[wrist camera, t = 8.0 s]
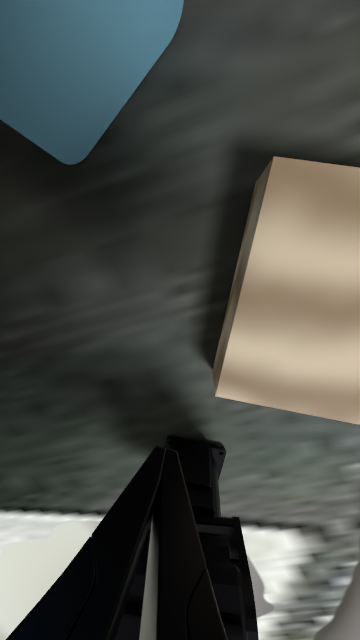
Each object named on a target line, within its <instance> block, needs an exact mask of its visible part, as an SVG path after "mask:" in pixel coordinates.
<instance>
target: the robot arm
mask: <svg viewBox="0 0 360 640" xmlns="http://www.w3.org/2000/svg"><path fill="white" fill-rule="evenodd" d="M225 455H226V450H225V448H224V447H221V446H217V445H212V444H207V443H202V442H198V441H193V440H188V439H183V438H178V437H174V436H168V437H167V440H166V445H165V448H164V447H160V446H156V447H155V448H154V450H153V451H152V452H151V454H150V455H149V456H148V458H147V459H146V461H145V462H144V463H143V465H142V466H141V467H140V469H139V470H138V472H137V473H136V474H135V476H134V477H133V478H132V480H131V481H130V483H129V484H128V485H127V487H126V488H125V489H124V491H123V492H122V494H121V495H120V496H119V498H118V499H117V500H116V502H115V503H114V505H113V506H112V507H111V509H110V510H109V511H108V513H107V514H106V515H105V517H104V518H103V520H102V521H101V522H100V524H99V525H98V526H97V528H96V529H95V531H94V532H93V533H92V537H89V539H88V540H87V541H86V543H85V544H84V545H83V547H82V548H81V550H80V551H79V552H78V554H77V555H76V556H75V557H74V559H73V560H72V561H71V563H70V564H69V566H68V567H67V568H66V569H65V571H64V572H63V573H62V575H61V576H60V577H59V578H58V579H57V580H56V582H55V583H54V584H53V585H52V586H51V588H50V589H49V590H48V591H47V592H46V594H45V595H44V596H43V597H42V598H41V600H40V601H39V602H38V603H37V604H36V605H35V607H34V608H33V609H32V610H31V611H30V612H29V614H28V615H27V616H26V617H25V618H24V619H23V620H22V622H21V623H20V624H19V625H18V626H17V627H16V628H15V630H14V631H13V632H12V633H11V634H10V635H9V637H8V638H7V639H6V640H258V628H257V618H256V609H255V601H254V594H253V588H252V581H251V576H250V571H249V565H248V561H247V555H246V550H245V545H244V540H243V535H242V530H241V525H240V520H239V517H232V518H226V517H221V511H220V498H219V485H218V479H219V476H220V473H221V469H222V466H223V462H224V459H225Z"/></svg>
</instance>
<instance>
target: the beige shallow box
mask: <svg viewBox="0 0 360 640" xmlns="http://www.w3.org/2000/svg"><path fill="white" fill-rule="evenodd" d="M213 379H214V388H215V396H217V397H222V398H227V399H232V400H237V401H242V402H247V403H252V404H257V405H262V406H267V407H273V408H278V409H283V410H288V411H293V412H298V413H303V414H308V415H313V416H318V417H323V418H328V419H333V420H339V421H344V422H349V423H354V424H360V168H358V167H351V166H343V165H336V164H328V163H321V162H313V161H306V160H298V159H291V158H283V157H276V156H274V157H273V158H272V160H271V161H270V162H269V164H268V165H267V167H266V168H265V170H264V171H263V173H262V174H261V175H260V177H259V178H258V180H257V181H256V183H255V188H254V192H253V196H252V201H251V205H250V209H249V214H248V218H247V222H246V227H245V231H244V236H243V240H242V244H241V249H240V253H239V257H238V262H237V266H236V270H235V275H234V279H233V284H232V288H231V292H230V297H229V301H228V305H227V310H226V314H225V318H224V323H223V327H222V332H221V336H220V340H219V345H218V349H217V353H216V358H215V362H214V366H213Z"/></svg>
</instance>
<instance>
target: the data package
mask: <svg viewBox="0 0 360 640" xmlns="http://www.w3.org/2000/svg"><path fill="white" fill-rule="evenodd" d="M183 2H184V0H0V120H2V121H3V122H5V123H6V124H8V125H9V126H10V127H12V128H13V129H15V130H16V131H18V132H19V133H20V134H22V135H23V136H25V137H26V138H28V139H29V140H30V141H32V142H33V143H35V144H36V145H38V146H39V147H40V148H42V149H43V150H45V151H46V152H48V153H49V154H50V155H52V156H53V157H55V158H56V159H58V160H59V161H60V162H62V163H64V164H68V165H73V164H77V163H79V162H81V161H82V160H84V159H85V158H86V157H87V155H88V154H89V153H90V151H91V150H92V149H93V147H94V146H95V145H96V143H97V142H98V140H99V139H100V138H101V136H102V135H103V134H104V132H105V131H106V130H107V128H108V127H109V125H110V124H111V123H112V121H113V120H114V119H115V117H116V116H117V114H118V113H119V112H120V110H121V109H122V108H123V106H124V105H125V104H126V102H127V101H128V99H129V98H130V97H131V95H132V94H133V93H134V91H135V90H136V88H137V87H138V86H139V84H140V83H141V82H142V80H143V79H144V78H145V76H146V75H147V73H148V72H149V71H150V69H151V68H152V67H153V65H154V64H155V62H156V61H157V60H158V58H159V57H160V56H161V54H162V53H163V51H164V50H165V49H166V47H167V46H168V45H169V43H170V42H171V40H172V38H173V36H174V34H175V32H176V30H177V27H178V24H179V21H180V18H181V14H182V9H183Z"/></svg>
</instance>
